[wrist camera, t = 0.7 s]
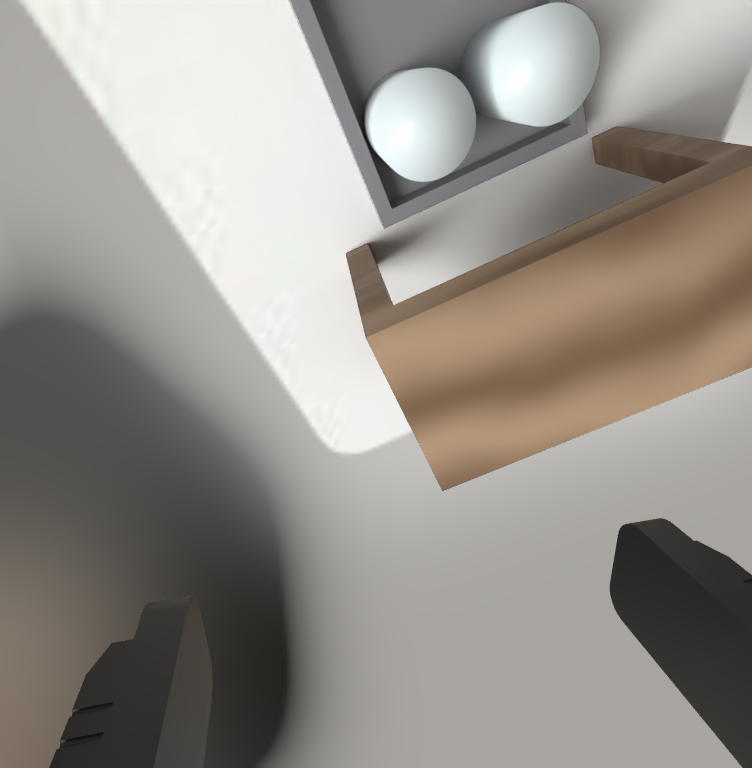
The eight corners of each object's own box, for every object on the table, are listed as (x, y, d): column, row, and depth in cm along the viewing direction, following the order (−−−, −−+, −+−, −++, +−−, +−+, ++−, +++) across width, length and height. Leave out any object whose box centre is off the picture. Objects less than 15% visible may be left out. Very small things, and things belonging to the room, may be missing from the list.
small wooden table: (345, 253, 31) (365, 337, 21) (616, 126, 29) (783, 151, 19) (403, 376, 36) (442, 491, 26) (635, 276, 34) (774, 358, 24)
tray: (237, -123, 22) (212, -200, 16) (494, -271, 20) (573, -415, 14) (378, 218, 30) (397, 251, 24) (566, 129, 29) (635, 142, 23)
